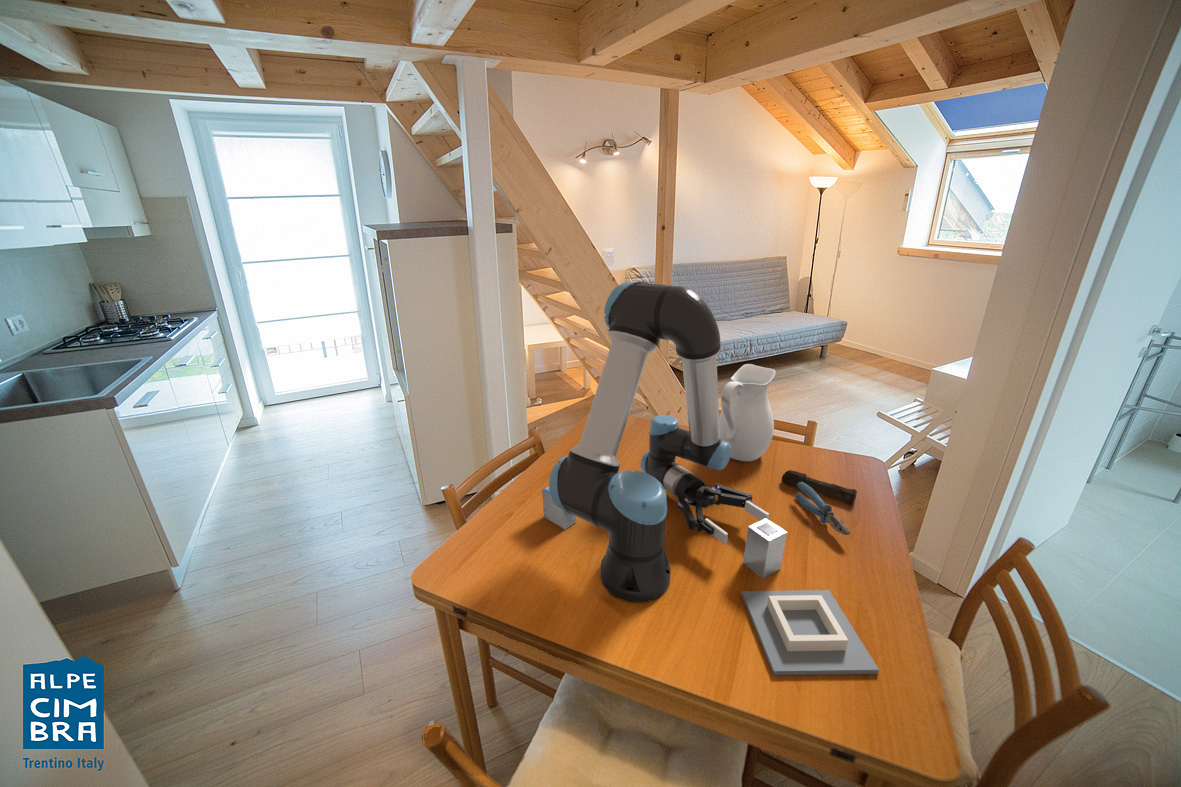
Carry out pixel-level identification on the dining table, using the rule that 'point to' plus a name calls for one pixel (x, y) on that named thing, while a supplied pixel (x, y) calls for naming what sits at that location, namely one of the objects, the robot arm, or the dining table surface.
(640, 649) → the dining table surface
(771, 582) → the dining table surface
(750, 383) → the pitcher
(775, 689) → the dining table surface
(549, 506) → the medicine box
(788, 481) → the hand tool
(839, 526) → the pliers
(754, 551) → the tall square post
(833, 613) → the cradle
